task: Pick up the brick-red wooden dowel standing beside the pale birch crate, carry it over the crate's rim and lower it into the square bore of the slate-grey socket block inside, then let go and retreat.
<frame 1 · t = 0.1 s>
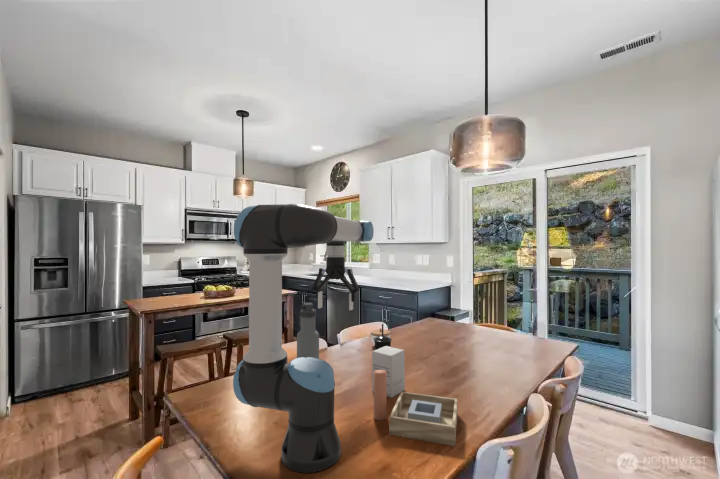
hand: (335, 308, 140), 28 cm above the table, fingers open, 13 cm apart
drinking cup: (382, 371, 148), on the table
peg: (380, 417, 108), on the table
water bottle: (307, 366, 153), on the table
supplement box: (388, 391, 127), on the table
lidded jar: (380, 346, 184), on the table
socket: (425, 414, 103), in the crate, point 3 cm above the table
crate: (425, 424, 103), on the table
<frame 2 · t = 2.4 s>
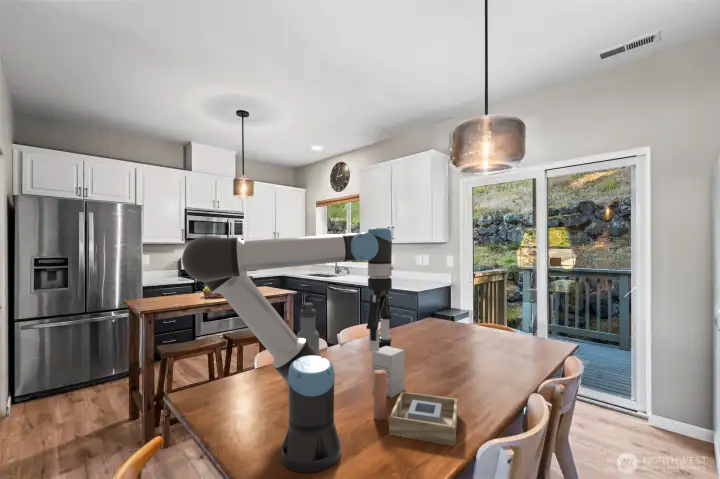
hand: (379, 344, 108), 22 cm above the table, fingers open, 13 cm apart
nothing on the table moved.
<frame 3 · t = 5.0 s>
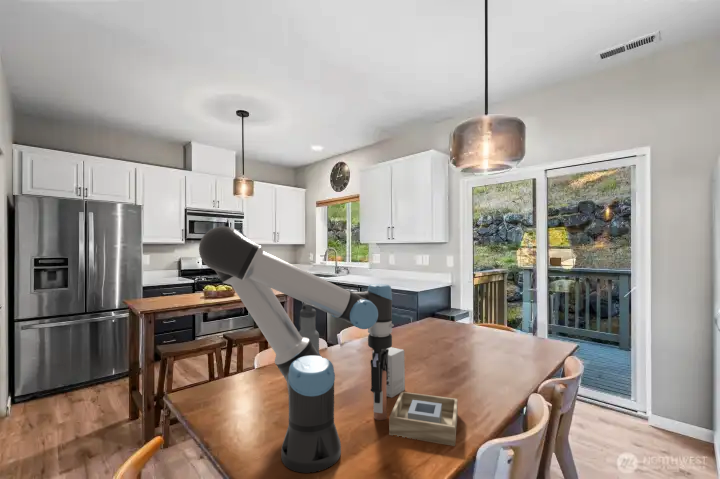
hand: (380, 408, 108), 3 cm above the table, fingers closed on peg, 4 cm apart
peg: (380, 417, 108), on the table, touching gripper
everything else where it was.
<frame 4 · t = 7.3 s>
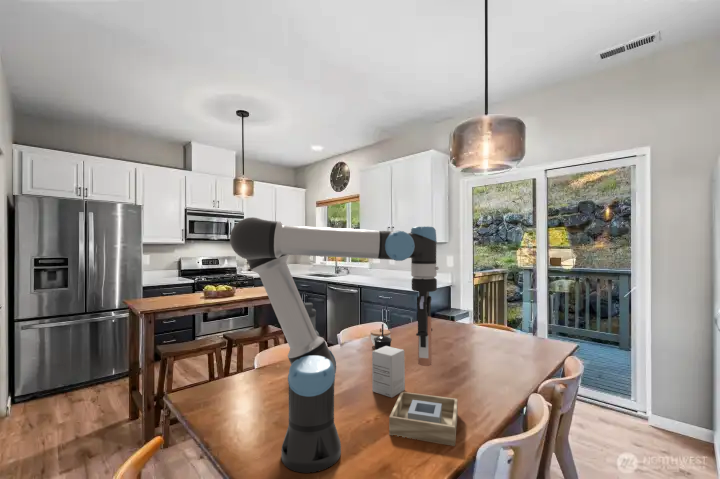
hand: (424, 355, 104), 21 cm above the table, fingers closed on peg, 4 cm apart
peg: (424, 363, 104), point 18 cm above the table, touching gripper
everything else where it was.
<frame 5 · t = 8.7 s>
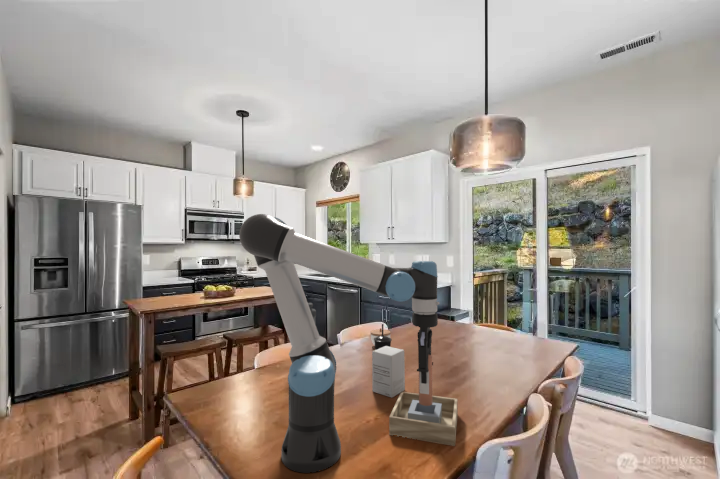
hand: (425, 389, 104), 10 cm above the table, fingers closed on peg, 4 cm apart
peg: (425, 402, 103), point 6 cm above the table, touching gripper
everything else where it was.
when the fingers open (6 cm above the table, at t = 9.7 s): peg drops 1 cm, resting on crate.
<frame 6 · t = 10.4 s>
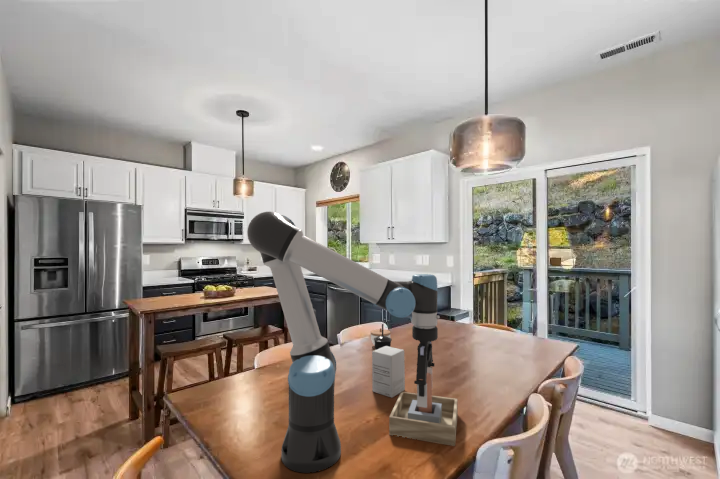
hand: (425, 396, 104), 8 cm above the table, fingers open, 13 cm apart
peg: (425, 421, 103), point 1 cm above the table, touching crate
everything else where it was.
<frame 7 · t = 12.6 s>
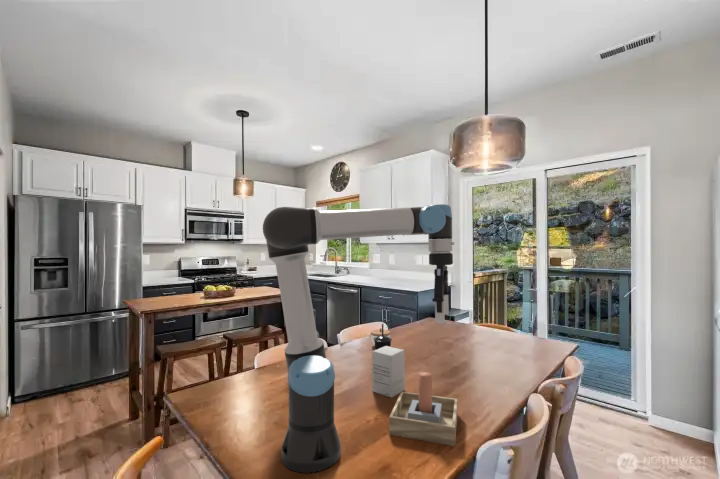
hand: (442, 318, 111), 30 cm above the table, fingers open, 13 cm apart
nothing on the table moved.
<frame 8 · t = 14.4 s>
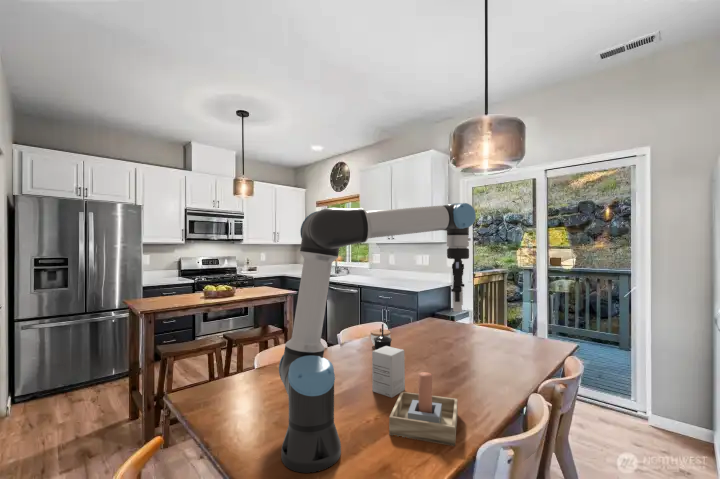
hand: (458, 308, 121), 32 cm above the table, fingers open, 13 cm apart
nothing on the table moved.
at the end: peg 0.0 cm off-centre on the socket, point 0.8 cm above the socket's base; peg tilted 0°; the gripper is holding nothing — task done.
